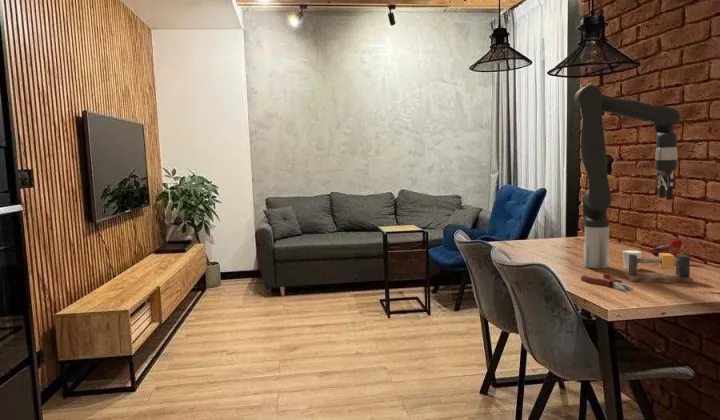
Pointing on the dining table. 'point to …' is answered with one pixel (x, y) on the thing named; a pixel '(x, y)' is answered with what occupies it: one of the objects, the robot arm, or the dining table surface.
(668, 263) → the marker sleeve
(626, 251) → the white cup
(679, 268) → the stand
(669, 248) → the decorative bird figurine
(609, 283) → the pliers
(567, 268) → the dining table surface
